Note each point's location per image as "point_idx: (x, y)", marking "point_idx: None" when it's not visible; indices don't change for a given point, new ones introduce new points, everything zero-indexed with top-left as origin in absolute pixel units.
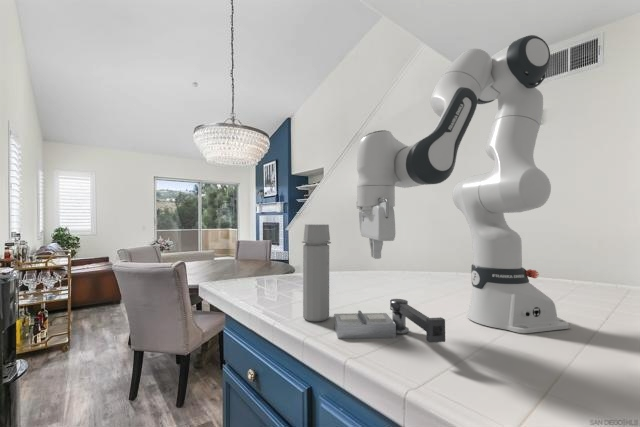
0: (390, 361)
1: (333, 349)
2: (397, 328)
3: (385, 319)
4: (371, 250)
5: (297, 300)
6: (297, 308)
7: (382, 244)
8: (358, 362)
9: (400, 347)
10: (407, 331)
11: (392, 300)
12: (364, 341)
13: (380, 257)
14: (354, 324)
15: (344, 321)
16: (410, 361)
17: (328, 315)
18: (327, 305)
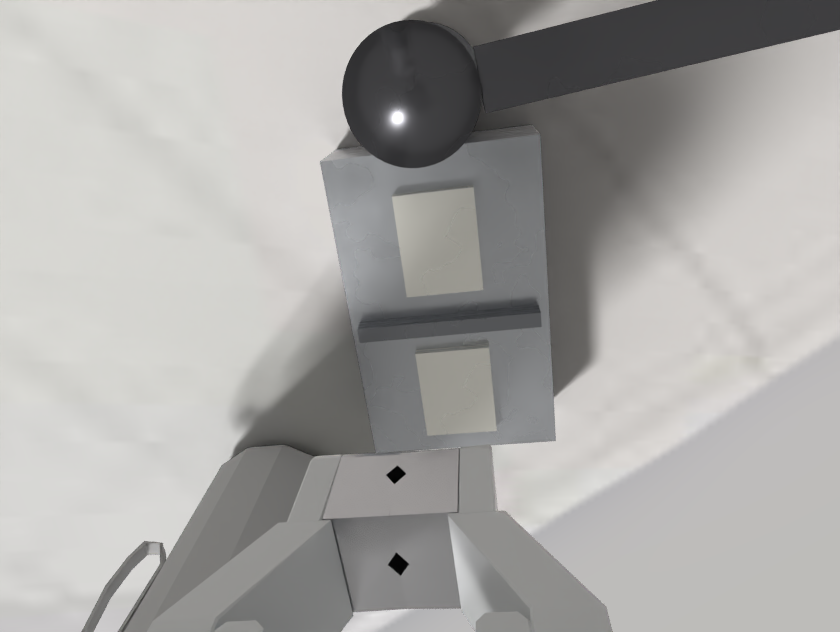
0: (816, 202)
1: (664, 421)
2: None
3: (474, 189)
4: (358, 608)
5: (7, 579)
6: (147, 570)
7: (603, 606)
8: (802, 335)
9: (665, 124)
10: (462, 38)
11: (399, 148)
12: (581, 292)
13: (490, 451)
14: (550, 365)
15: (502, 409)
16: (833, 107)
17: (289, 453)
18: (286, 494)
